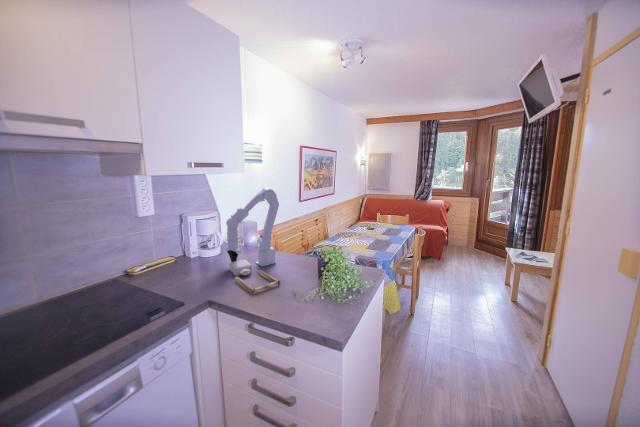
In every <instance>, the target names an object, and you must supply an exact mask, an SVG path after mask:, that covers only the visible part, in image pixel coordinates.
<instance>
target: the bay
mask: <svg viewBox="0 0 640 427" xmlns="http://www.w3.org/2000/svg"><path fill="white" fill-rule="evenodd" d="M258 275H260V276H262V277H263V278H265V279H266V280H267V281H270V283H267V284H264V285H260V286H258V287H255V288H254V287H252V286H251V285H249V284H248V283H247V282H245V280H242V279H241V278H240V277H239V276H236V275H235V276H234V281H235V283H237V284H239V285H240V287H243V288H244V289H245V290H246V291H248V292H249V293H250V294H252V295H256V294H258V293H261V292H264V291H268V290H270V289H273V288H277V287H278V286H281V281H280V280H279V279H277V278H275V277H273V276H272V275H271V274H268V273H267V272H265V271H264V270H262V269H259V270H258Z"/></svg>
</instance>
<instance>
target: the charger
mask: <svg viewBox="0 0 640 427" xmlns="http://www.w3.org/2000/svg"><path fill="white" fill-rule="evenodd" d="M228 266H229V271H231V272H232V274H234V276H235V277H236V276H237V277H239V276H249V275H250V274H251V273H252V272H253V265H252V264H251V263H250V262H249V261H248V260H246V259H240V260H237V261H234V262H231V261H230V262H229V264H228Z"/></svg>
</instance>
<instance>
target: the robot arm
mask: <svg viewBox="0 0 640 427" xmlns="http://www.w3.org/2000/svg"><path fill="white" fill-rule="evenodd" d="M278 199H279V198H278V196H277V193H276V192H275V191H274V190H273V189H272V188H269V187H264V188H262V189H261V190H260V191H258V192H257V194H256V195H254V197H252V199H251V200H250V201H249V202H248V203H247V204H246V205H245V206H244V207H239V208H236V212H234V213H233V215H232V214H231V215H230V217H229V218H228V219H227V220H226V222H225V223H226V227H227V228H226V231H227V232H226V235H227V236H226V237H227V238H226V239H227V243H226V246H225V247H226V248H225V251H226V252H227V254H228V255H229V259H230V263H231V262H234V261H238V257H239V255H241V253H242V250H241V249H240V246H239V231H238V227H239V224H240V223H242V222H243V221H244V220H245V219H247V217H248V216H249V212H250V211H251V210H252V209H253V208H254V207H255V206H256V205H258V204H259V203H260V202H265V201H266V202H267V203H268V206H269V207H268V210H267V215H266V217H265V218H266V219H265V221H264V226H263V229H262V232H261V233H260V236H259V237H258V238H257V244H258V247H257V260H258V261H255V264H257V265H258V266H260V267H266V266H269V265H274V264H276V263H277V261H276V251H275V248H274V247H273V246H272V243H271V242H272V232H273V228H274V224H275V221H276V218H277V214H278V210H279V206H280V204H279V200H278ZM273 261H274V262H273Z"/></svg>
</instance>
